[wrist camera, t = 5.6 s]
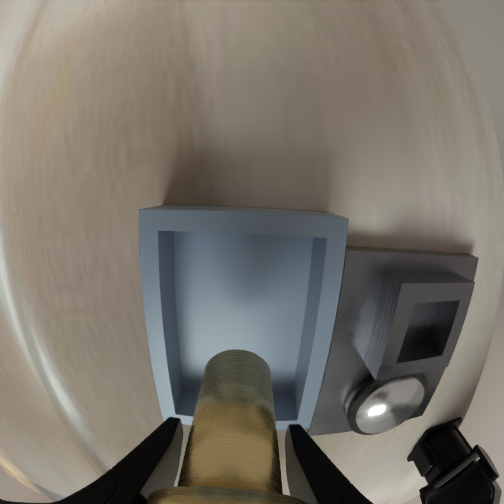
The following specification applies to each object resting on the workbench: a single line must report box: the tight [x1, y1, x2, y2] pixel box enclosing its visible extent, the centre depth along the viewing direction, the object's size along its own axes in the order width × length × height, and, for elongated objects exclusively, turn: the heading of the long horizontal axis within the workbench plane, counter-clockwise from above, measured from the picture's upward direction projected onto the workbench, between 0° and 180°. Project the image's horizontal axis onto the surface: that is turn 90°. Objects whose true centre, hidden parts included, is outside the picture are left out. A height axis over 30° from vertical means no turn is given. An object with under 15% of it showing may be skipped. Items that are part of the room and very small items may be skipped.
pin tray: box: [139, 205, 349, 430], centre depth 16 cm, size 10×14×4 cm
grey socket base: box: [306, 246, 478, 436], centre depth 16 cm, size 12×16×4 cm
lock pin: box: [146, 349, 308, 504], centre depth 7 cm, size 4×4×8 cm
